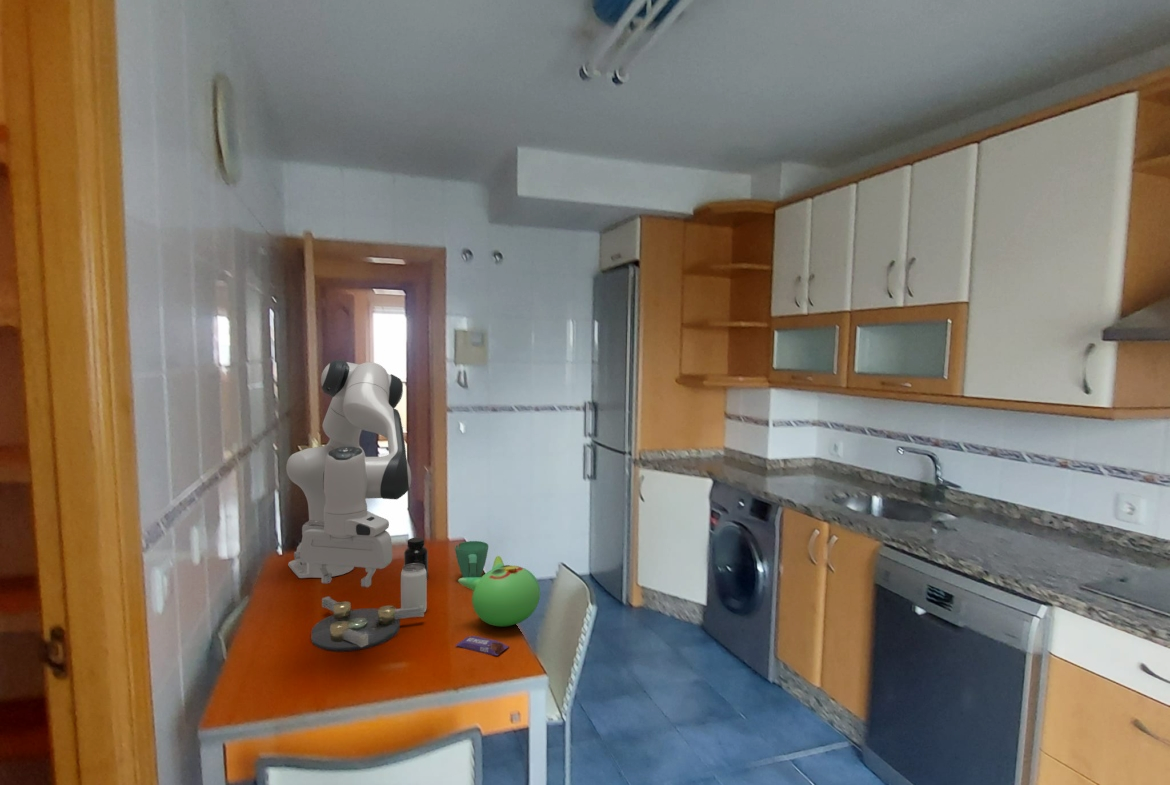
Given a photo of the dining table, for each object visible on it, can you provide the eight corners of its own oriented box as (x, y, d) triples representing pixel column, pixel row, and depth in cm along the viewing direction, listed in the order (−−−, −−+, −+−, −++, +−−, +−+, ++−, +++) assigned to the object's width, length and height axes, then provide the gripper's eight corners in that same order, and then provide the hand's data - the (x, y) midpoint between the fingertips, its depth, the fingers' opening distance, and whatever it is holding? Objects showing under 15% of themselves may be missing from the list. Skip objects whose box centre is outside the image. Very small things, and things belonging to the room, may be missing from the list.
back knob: (353, 616, 154) (353, 604, 153) (338, 621, 151) (338, 609, 150) (332, 604, 161) (332, 593, 161) (317, 609, 158) (317, 597, 158)
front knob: (326, 638, 141) (326, 625, 141) (341, 632, 145) (341, 619, 145) (357, 650, 136) (357, 637, 135) (372, 643, 139) (372, 630, 139)
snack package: (454, 641, 142) (467, 632, 146) (454, 649, 142) (467, 640, 146) (497, 651, 137) (509, 642, 142) (497, 659, 137) (509, 650, 142)
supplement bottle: (400, 578, 185) (400, 539, 184) (421, 573, 189) (421, 534, 189) (410, 584, 180) (410, 544, 179) (432, 579, 184) (431, 539, 184)
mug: (454, 574, 189) (454, 542, 188) (487, 571, 191) (487, 540, 191) (456, 591, 175) (455, 557, 174) (490, 589, 177) (490, 555, 176)
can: (419, 618, 157) (419, 571, 156) (396, 615, 158) (396, 569, 158) (430, 607, 163) (430, 563, 163) (408, 605, 165) (408, 561, 164)
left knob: (378, 625, 149) (378, 613, 148) (378, 618, 152) (378, 606, 152) (424, 619, 152) (424, 607, 152) (423, 613, 156) (423, 601, 156)
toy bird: (510, 643, 144) (511, 582, 143) (455, 627, 152) (455, 569, 151) (551, 615, 159) (552, 560, 158) (499, 602, 168) (499, 549, 167)
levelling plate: (296, 633, 148) (296, 620, 148) (372, 607, 163) (372, 596, 163) (337, 660, 135) (337, 647, 135) (416, 630, 150) (415, 618, 150)
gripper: (293, 523, 133) (294, 585, 134) (381, 529, 129) (381, 593, 130) (311, 515, 139) (311, 575, 140) (395, 521, 136) (395, 582, 136)
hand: (346, 584), depth 135 cm, fingers open, 8 cm apart
